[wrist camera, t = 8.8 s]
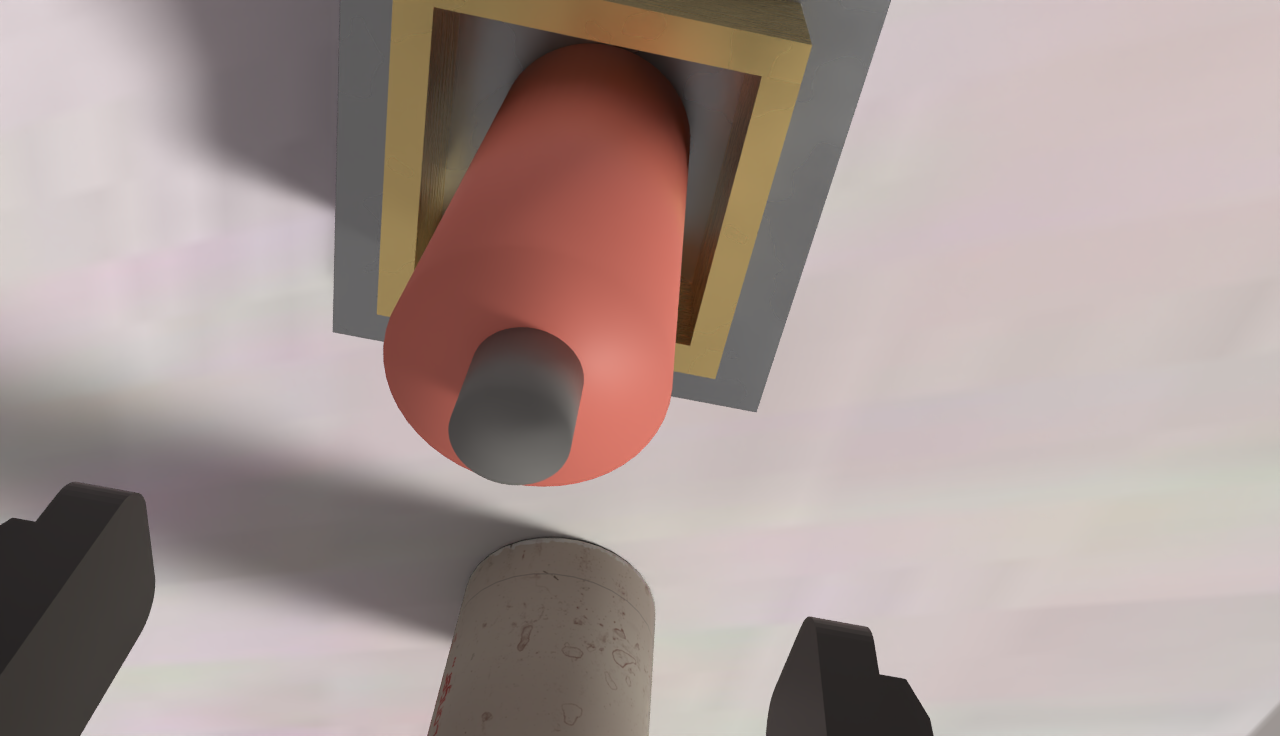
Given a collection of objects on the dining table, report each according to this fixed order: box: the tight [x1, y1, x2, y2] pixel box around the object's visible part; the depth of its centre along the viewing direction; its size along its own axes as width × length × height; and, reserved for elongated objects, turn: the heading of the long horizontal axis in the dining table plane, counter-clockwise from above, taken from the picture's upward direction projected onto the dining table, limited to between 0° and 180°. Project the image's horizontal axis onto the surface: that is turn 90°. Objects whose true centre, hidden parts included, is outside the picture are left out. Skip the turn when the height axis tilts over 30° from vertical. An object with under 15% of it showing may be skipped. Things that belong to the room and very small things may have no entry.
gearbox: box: [333, 0, 891, 412], centre depth 26 cm, size 17×12×9 cm
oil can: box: [383, 43, 690, 486], centre depth 20 cm, size 5×5×12 cm
